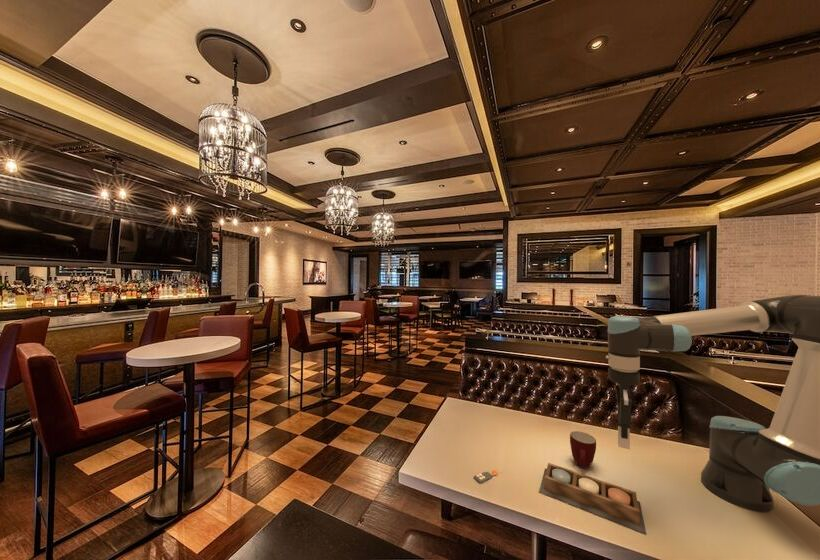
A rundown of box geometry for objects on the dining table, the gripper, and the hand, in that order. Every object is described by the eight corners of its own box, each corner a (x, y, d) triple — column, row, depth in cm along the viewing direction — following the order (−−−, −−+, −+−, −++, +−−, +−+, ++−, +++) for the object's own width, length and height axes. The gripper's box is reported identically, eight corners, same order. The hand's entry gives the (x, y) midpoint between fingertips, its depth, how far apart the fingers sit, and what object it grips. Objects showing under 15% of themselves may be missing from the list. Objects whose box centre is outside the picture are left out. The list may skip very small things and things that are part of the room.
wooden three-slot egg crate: (639, 502, 85) (640, 489, 85) (646, 535, 74) (646, 520, 74) (545, 469, 99) (545, 457, 99) (538, 492, 88) (539, 479, 88)
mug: (599, 479, 95) (600, 450, 94) (571, 472, 98) (572, 444, 98) (593, 461, 104) (593, 434, 104) (568, 455, 107) (568, 429, 107)
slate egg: (570, 482, 92) (570, 472, 92) (569, 492, 87) (569, 482, 87) (552, 476, 95) (553, 466, 94) (550, 485, 90) (551, 475, 90)
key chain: (480, 486, 91) (480, 481, 91) (472, 479, 95) (472, 474, 95) (509, 473, 98) (509, 469, 98) (500, 467, 101) (500, 463, 101)
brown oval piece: (629, 503, 83) (629, 492, 83) (630, 515, 79) (631, 504, 79) (607, 495, 86) (607, 485, 86) (608, 507, 82) (608, 496, 82)
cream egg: (598, 492, 88) (598, 482, 88) (598, 503, 83) (599, 492, 83) (578, 485, 90) (579, 475, 90) (578, 495, 86) (578, 485, 86)
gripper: (606, 361, 92) (607, 433, 92) (609, 372, 81) (610, 454, 81) (635, 364, 88) (636, 439, 89) (643, 377, 77) (643, 463, 77)
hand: (623, 446), depth 85 cm, fingers closed
